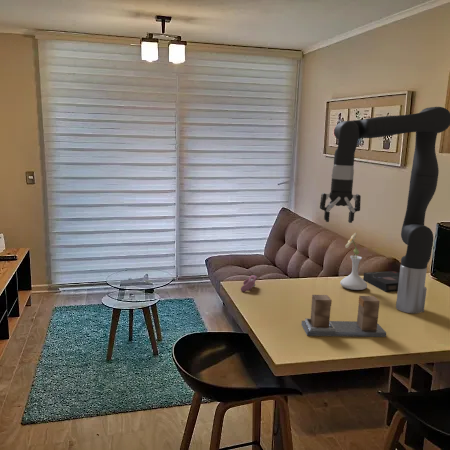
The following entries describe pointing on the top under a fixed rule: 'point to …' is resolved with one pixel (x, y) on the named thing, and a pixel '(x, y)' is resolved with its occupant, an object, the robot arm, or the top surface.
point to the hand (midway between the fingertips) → (338, 222)
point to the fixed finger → (368, 312)
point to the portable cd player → (383, 280)
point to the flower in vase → (354, 271)
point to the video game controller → (249, 283)
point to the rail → (341, 329)
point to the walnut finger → (320, 311)
